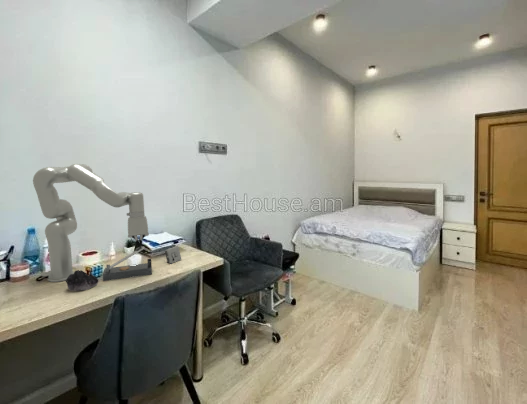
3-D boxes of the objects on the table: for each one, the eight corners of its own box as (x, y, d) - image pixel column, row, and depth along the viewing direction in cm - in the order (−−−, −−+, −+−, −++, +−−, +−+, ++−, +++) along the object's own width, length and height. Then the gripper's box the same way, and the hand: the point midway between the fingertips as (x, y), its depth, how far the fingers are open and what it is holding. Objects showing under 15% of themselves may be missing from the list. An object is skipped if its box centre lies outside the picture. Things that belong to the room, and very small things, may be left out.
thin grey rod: (107, 271, 146) (104, 268, 145) (107, 269, 148) (105, 266, 148) (144, 248, 152) (142, 246, 151) (144, 247, 155) (142, 244, 154)
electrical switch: (170, 264, 169) (169, 249, 168) (164, 263, 172) (163, 249, 171) (181, 260, 177) (180, 246, 177) (176, 259, 180) (174, 245, 179)
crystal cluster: (95, 280, 146) (92, 262, 145) (101, 286, 136) (98, 267, 135) (65, 289, 137) (61, 270, 136) (69, 296, 127) (65, 276, 126)
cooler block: (103, 281, 143) (102, 268, 142) (105, 275, 151) (104, 263, 150) (151, 274, 152) (151, 262, 151) (151, 269, 160) (151, 257, 160)
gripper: (121, 216, 144) (124, 250, 146) (151, 214, 150) (153, 246, 152) (122, 214, 150) (124, 246, 153) (151, 212, 156) (153, 243, 159)
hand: (139, 246), depth 152 cm, fingers closed
